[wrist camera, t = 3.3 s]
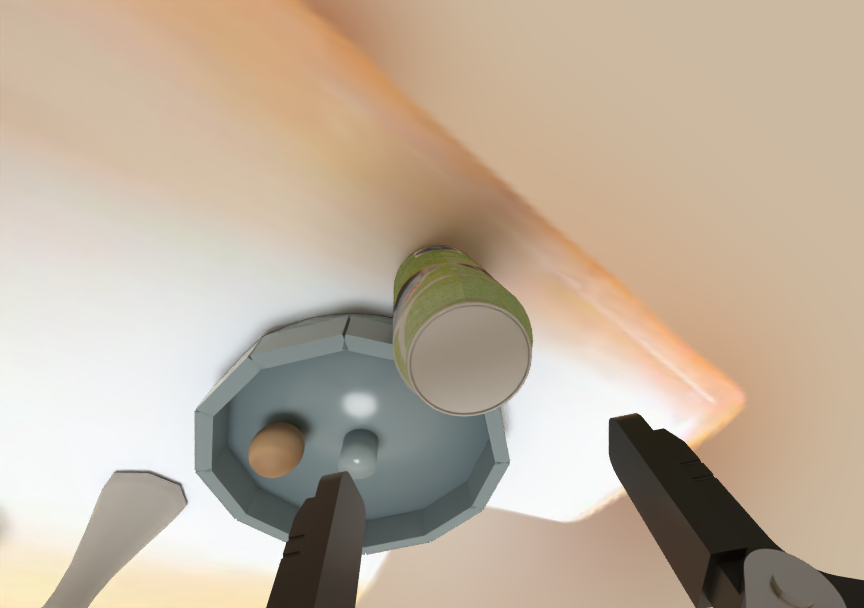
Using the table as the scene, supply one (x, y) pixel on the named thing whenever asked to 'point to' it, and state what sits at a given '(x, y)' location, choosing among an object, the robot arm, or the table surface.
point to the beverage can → (458, 333)
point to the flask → (117, 533)
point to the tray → (323, 412)
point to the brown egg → (276, 449)
